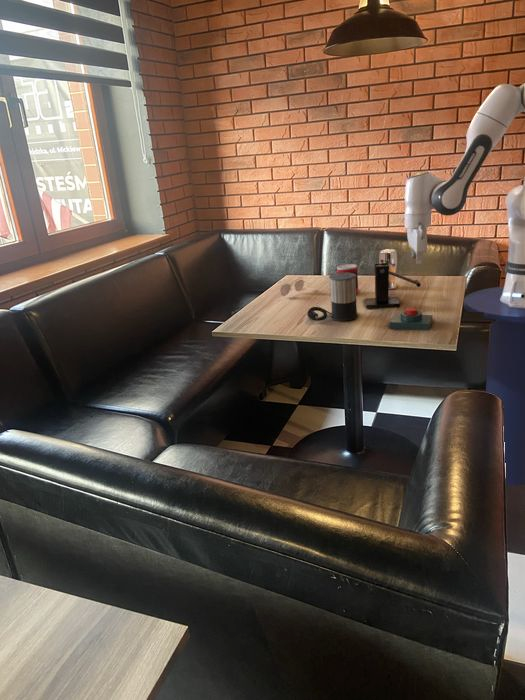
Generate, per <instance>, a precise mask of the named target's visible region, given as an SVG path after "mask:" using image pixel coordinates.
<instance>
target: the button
mask: <svg viewBox="0 0 525 700" xmlns="http://www.w3.org/2000/svg"><path fill="white" fill-rule="evenodd" d="M405 311H406V315H417V311H418V308H417V307H406V308H405Z"/></svg>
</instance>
